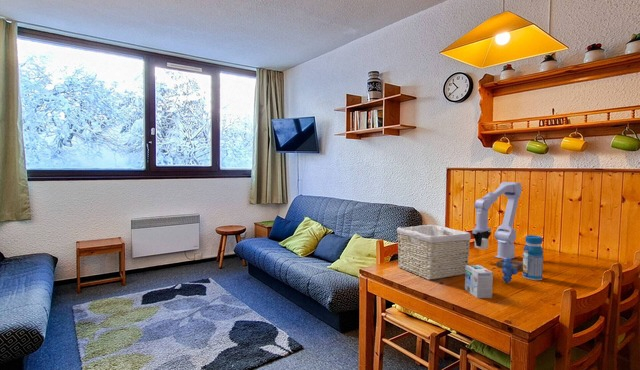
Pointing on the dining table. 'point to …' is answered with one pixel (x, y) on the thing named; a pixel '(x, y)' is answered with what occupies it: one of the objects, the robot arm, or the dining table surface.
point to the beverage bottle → (533, 258)
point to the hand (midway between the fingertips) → (481, 245)
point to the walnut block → (515, 264)
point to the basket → (433, 251)
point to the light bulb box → (478, 281)
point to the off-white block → (483, 244)
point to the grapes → (508, 270)
